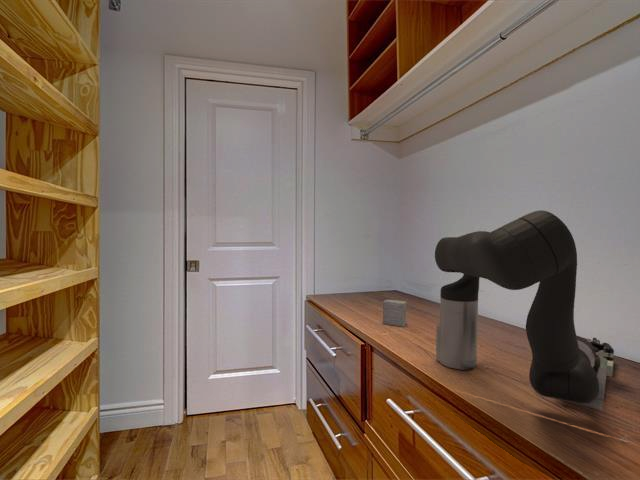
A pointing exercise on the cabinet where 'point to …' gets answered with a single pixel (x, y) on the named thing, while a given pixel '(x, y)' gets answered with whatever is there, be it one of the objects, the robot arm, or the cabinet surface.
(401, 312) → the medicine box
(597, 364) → the puck
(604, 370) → the slot board
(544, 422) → the cabinet surface
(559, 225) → the robot arm
